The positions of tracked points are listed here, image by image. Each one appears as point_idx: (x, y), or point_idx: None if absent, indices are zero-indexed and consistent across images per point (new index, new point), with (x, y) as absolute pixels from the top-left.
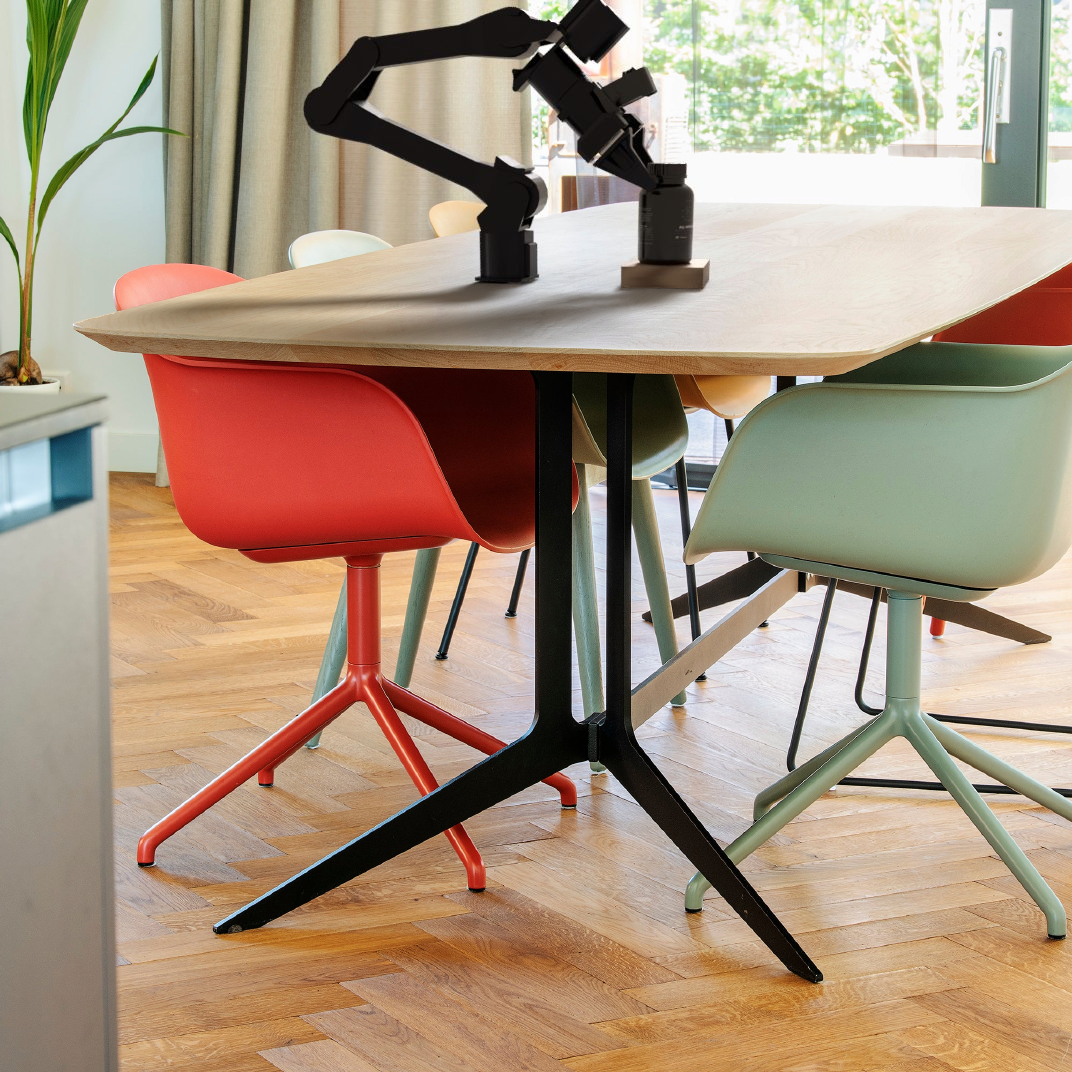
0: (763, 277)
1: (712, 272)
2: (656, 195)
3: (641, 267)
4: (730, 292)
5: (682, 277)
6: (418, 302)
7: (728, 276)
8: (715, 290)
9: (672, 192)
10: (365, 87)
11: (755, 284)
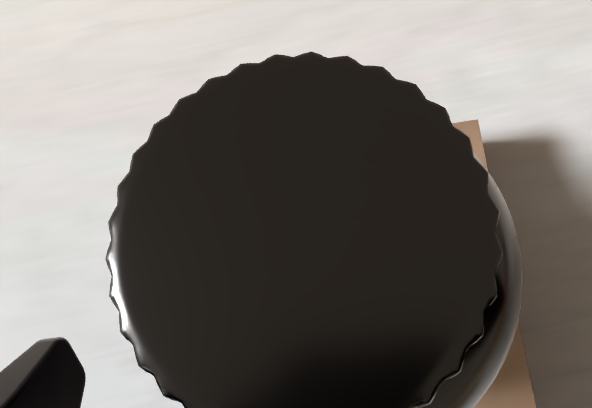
0: (128, 46)
1: (24, 216)
2: (521, 291)
3: (523, 347)
4: (525, 47)
5: None
6: None
7: (121, 145)
8: (490, 99)
9: (492, 181)
10: None
11: (305, 28)
